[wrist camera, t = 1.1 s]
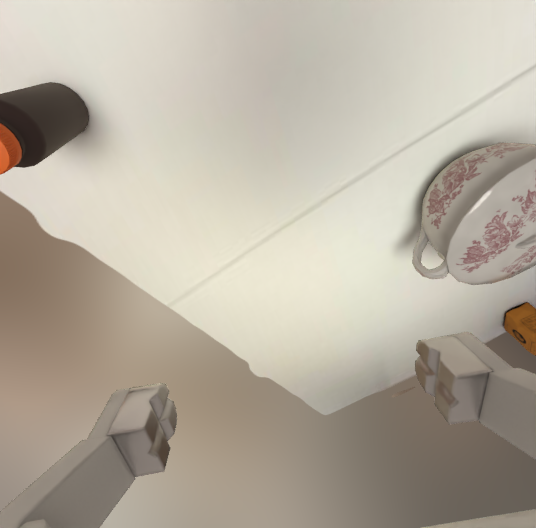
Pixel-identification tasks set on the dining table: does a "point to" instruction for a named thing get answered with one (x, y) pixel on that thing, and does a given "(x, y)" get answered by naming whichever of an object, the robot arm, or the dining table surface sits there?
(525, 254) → the chamber pot
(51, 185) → the dining table surface
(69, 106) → the bottle
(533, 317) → the coffee package
